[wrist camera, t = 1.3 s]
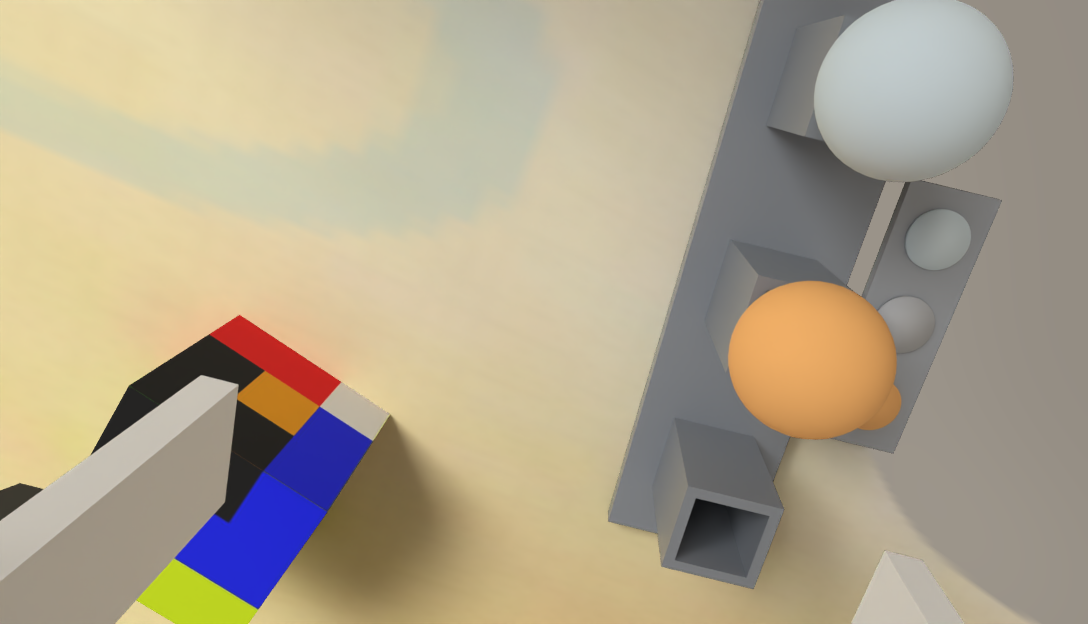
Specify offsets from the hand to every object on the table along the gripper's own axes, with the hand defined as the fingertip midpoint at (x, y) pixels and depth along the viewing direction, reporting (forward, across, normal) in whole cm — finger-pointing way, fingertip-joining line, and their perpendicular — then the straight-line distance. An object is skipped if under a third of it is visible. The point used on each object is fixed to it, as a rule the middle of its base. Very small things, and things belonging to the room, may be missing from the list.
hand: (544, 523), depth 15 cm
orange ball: (+14, +9, 0) cm, 17 cm away
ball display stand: (+25, +9, 0) cm, 26 cm away
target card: (+25, +17, +1) cm, 30 cm away
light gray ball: (+14, +9, +10) cm, 20 cm away
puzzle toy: (+25, -15, -15) cm, 33 cm away
